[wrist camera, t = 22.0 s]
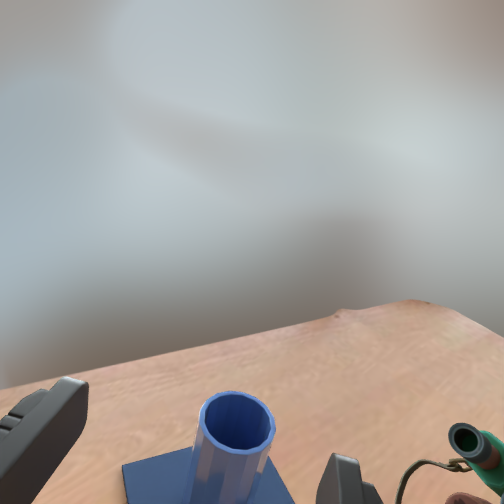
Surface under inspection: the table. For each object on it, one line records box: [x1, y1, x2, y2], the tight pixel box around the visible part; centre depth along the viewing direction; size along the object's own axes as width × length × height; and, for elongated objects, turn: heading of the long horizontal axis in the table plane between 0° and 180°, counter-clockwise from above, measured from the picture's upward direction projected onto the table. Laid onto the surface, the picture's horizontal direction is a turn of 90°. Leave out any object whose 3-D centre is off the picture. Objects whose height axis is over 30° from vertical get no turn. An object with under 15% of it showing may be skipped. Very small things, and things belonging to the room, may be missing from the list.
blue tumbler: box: [182, 391, 276, 504], centre depth 29 cm, size 6×6×10 cm
